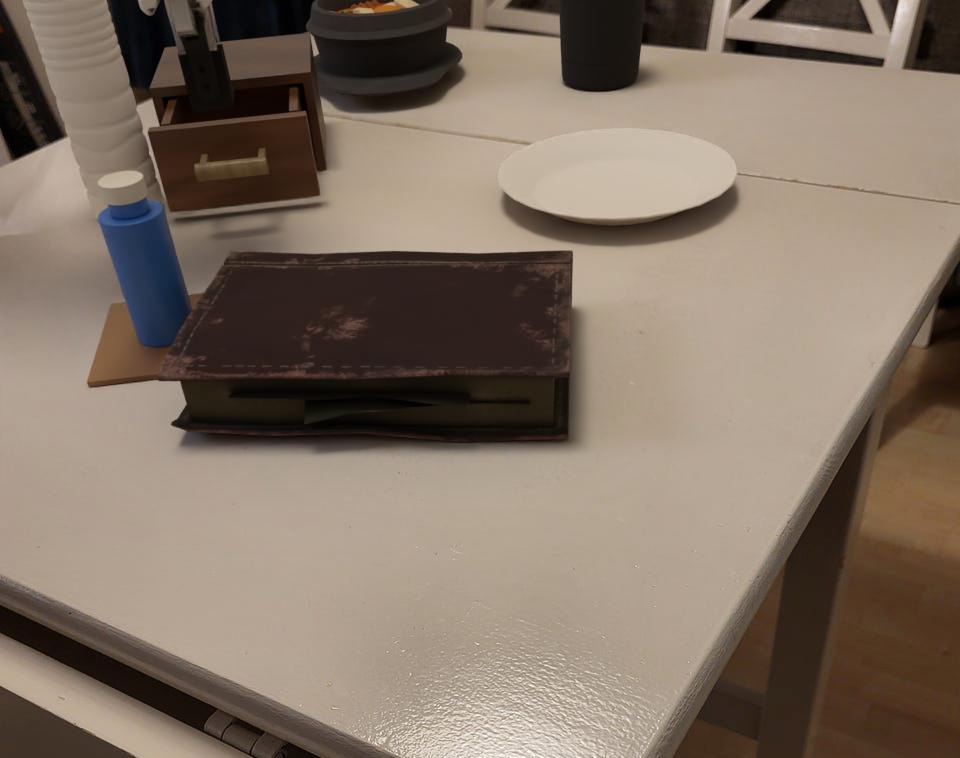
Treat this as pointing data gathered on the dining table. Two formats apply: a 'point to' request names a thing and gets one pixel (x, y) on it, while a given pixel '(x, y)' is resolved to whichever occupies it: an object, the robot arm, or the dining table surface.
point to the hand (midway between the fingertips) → (214, 106)
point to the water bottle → (92, 92)
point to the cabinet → (256, 77)
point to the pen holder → (600, 42)
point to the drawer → (236, 150)
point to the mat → (125, 351)
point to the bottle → (143, 258)
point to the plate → (617, 175)
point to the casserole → (381, 45)
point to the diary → (380, 346)
